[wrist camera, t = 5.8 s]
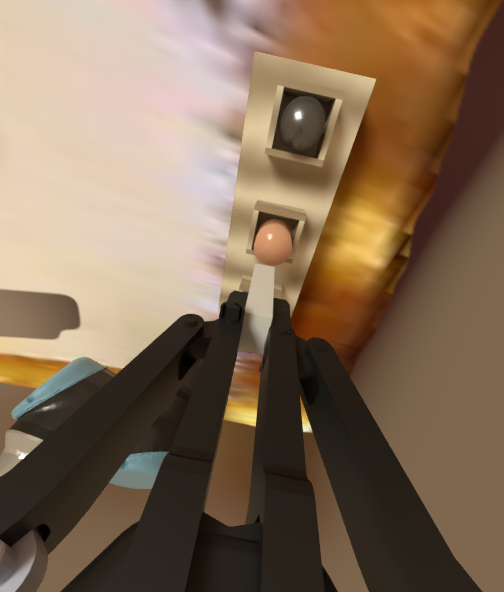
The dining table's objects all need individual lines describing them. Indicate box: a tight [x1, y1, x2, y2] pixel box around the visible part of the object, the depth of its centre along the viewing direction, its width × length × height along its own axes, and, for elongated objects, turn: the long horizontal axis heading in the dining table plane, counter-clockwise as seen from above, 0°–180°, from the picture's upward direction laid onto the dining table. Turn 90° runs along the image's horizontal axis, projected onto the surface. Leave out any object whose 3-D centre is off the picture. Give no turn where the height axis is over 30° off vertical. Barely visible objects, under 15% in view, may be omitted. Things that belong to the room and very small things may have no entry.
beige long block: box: [218, 52, 376, 316], centre depth 32 cm, size 32×12×10 cm, turn 169°
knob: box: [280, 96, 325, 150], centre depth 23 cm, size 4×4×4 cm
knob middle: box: [254, 218, 292, 266], centre depth 27 cm, size 4×4×4 cm
